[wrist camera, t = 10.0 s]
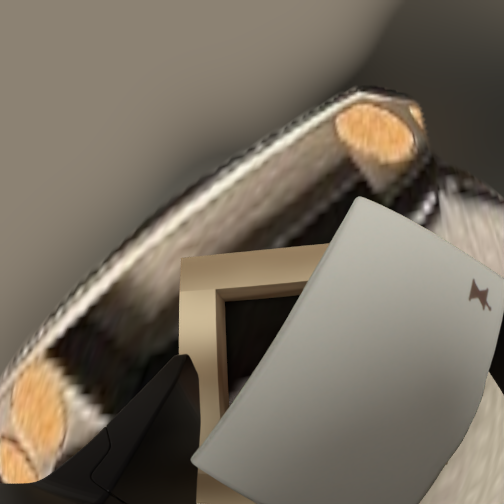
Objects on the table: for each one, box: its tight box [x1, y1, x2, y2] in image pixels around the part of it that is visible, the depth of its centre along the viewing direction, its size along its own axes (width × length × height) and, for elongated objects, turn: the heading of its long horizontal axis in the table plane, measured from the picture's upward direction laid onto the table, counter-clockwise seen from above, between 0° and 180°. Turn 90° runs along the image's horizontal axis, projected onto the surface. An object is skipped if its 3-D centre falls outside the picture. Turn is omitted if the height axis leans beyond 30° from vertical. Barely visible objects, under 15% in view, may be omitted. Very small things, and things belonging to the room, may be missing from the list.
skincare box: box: [191, 197, 504, 504], centre depth 9 cm, size 6×4×12 cm
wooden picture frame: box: [179, 243, 448, 504], centre depth 13 cm, size 14×14×2 cm
